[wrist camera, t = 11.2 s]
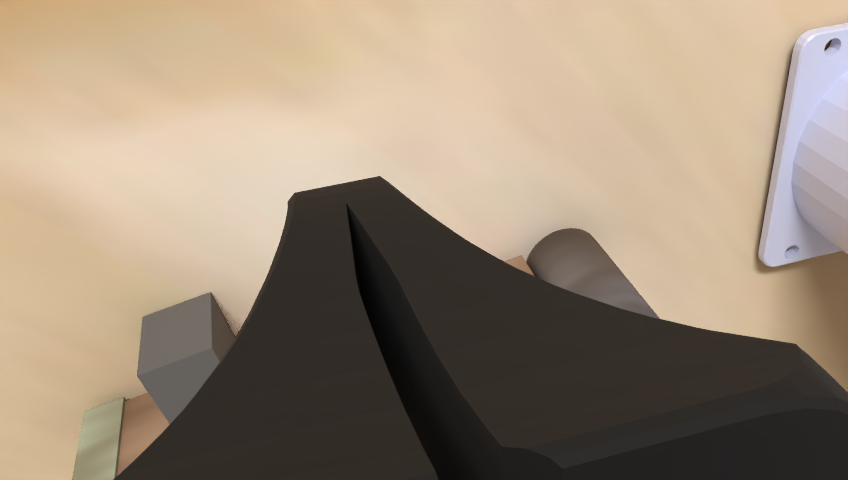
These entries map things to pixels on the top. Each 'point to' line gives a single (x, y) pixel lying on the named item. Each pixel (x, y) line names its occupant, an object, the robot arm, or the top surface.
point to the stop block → (181, 351)
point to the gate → (549, 260)
